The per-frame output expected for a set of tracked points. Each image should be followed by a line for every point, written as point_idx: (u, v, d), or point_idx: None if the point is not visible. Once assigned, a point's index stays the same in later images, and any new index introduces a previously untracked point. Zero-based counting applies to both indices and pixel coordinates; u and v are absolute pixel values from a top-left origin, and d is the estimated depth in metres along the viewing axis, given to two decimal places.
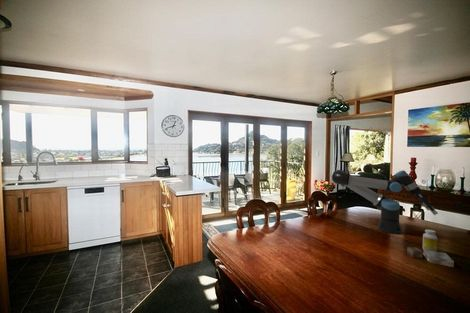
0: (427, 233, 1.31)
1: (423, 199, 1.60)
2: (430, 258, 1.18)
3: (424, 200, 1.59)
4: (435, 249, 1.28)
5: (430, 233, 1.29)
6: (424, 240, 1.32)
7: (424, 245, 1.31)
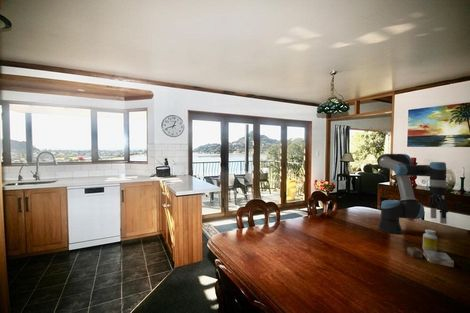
0: (427, 233, 1.31)
1: (443, 201, 1.25)
2: (430, 258, 1.18)
3: (443, 203, 1.25)
4: (435, 249, 1.28)
5: (430, 233, 1.29)
6: (424, 240, 1.32)
7: (424, 245, 1.31)
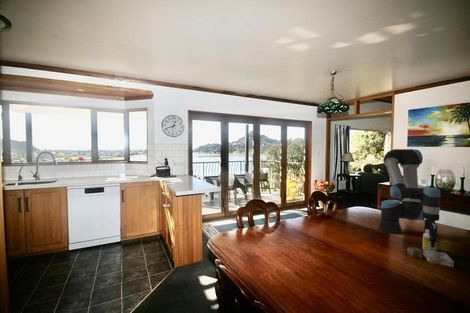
0: (427, 233, 1.31)
1: (433, 232, 1.25)
2: (430, 258, 1.18)
3: (434, 233, 1.25)
4: (435, 249, 1.28)
5: None
6: (424, 240, 1.32)
7: (424, 245, 1.31)
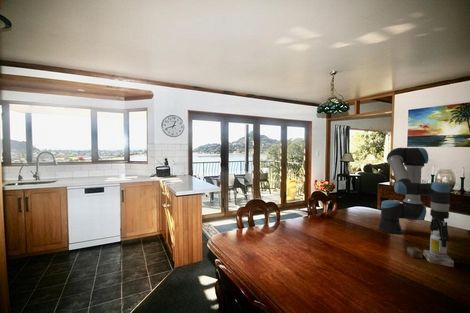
0: (435, 235, 1.19)
1: (444, 229, 1.13)
2: (430, 258, 1.18)
3: (444, 231, 1.12)
4: None
5: (438, 235, 1.18)
6: (432, 242, 1.20)
7: (432, 248, 1.20)
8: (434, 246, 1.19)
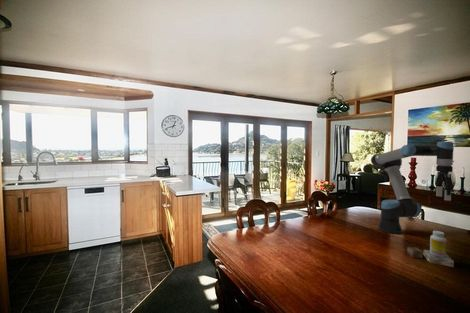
0: (435, 235, 1.19)
1: (448, 179, 1.30)
2: (430, 258, 1.18)
3: (448, 181, 1.29)
4: (444, 252, 1.17)
5: (438, 235, 1.18)
6: (431, 242, 1.20)
7: (431, 248, 1.20)
8: (434, 246, 1.19)
